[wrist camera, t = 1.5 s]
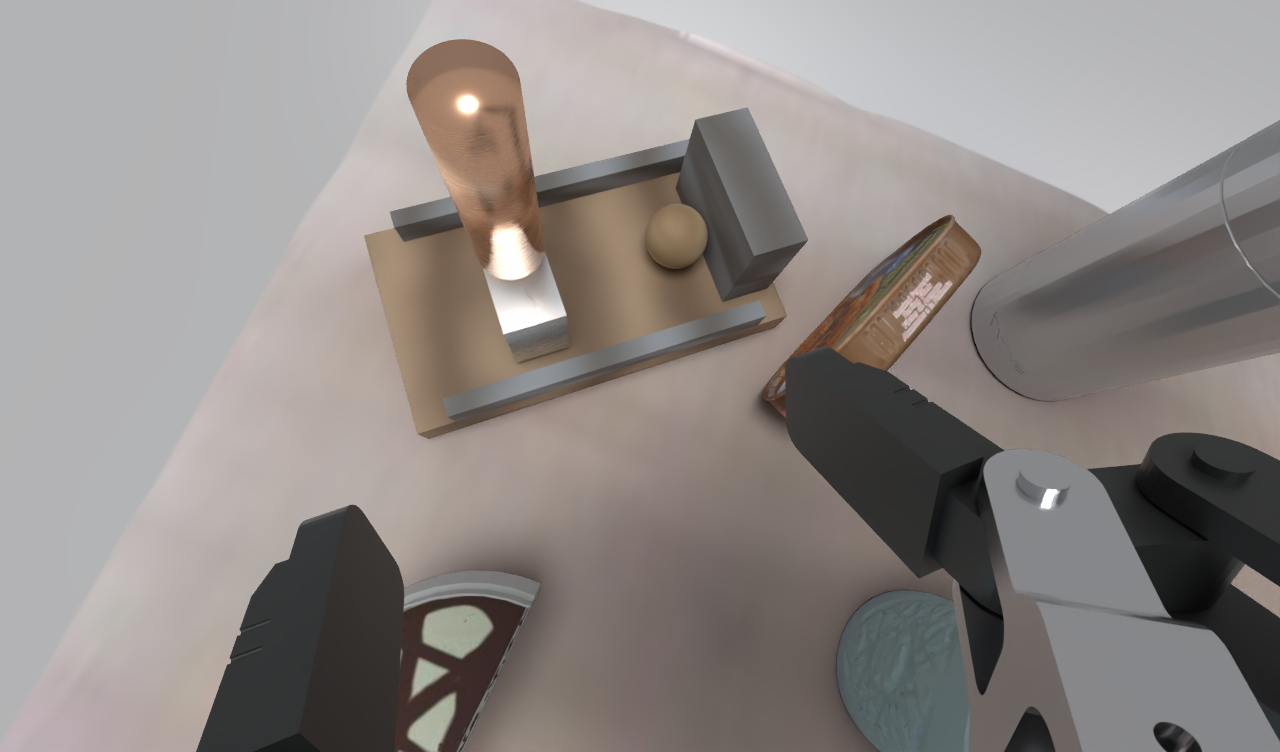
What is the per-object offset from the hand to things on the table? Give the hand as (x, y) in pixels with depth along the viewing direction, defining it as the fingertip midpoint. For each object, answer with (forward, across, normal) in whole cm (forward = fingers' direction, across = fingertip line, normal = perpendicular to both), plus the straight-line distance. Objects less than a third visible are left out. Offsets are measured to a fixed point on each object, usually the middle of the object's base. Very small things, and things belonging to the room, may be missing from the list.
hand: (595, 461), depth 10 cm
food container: (+11, +9, +19) cm, 24 cm away
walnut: (+21, -9, +5) cm, 24 cm away
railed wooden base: (+23, -4, +6) cm, 24 cm away
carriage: (+21, 0, +5) cm, 22 cm away
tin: (+17, -18, +12) cm, 28 cm away
